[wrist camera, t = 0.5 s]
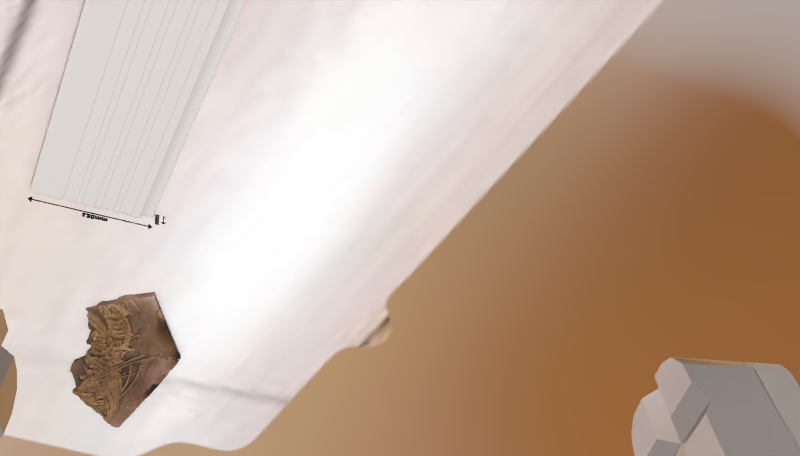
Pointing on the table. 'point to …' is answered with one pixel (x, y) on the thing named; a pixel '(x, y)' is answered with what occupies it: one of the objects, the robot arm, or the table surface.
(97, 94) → the baseboard
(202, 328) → the table surface
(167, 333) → the wooden fragment
